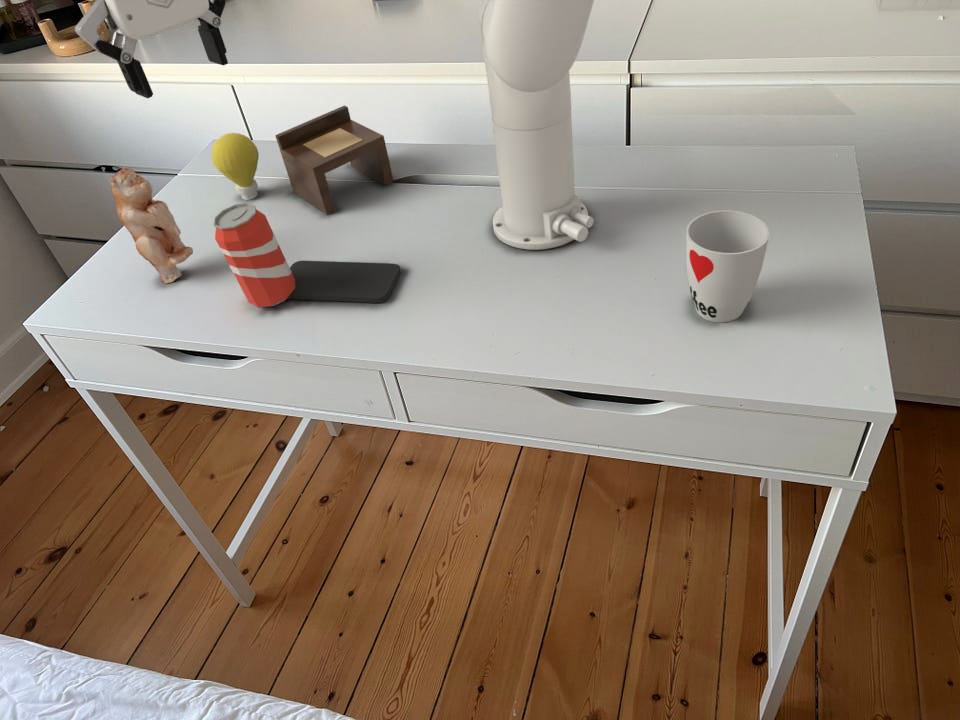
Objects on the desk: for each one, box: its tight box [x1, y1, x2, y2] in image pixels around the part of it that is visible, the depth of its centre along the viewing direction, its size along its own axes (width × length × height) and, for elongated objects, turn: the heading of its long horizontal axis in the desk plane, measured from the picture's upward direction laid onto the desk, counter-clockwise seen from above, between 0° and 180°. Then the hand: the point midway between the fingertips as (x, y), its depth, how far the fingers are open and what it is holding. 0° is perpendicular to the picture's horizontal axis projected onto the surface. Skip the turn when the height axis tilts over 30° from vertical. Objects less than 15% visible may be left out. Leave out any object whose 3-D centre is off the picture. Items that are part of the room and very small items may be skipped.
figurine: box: [108, 166, 194, 284], centre depth 100 cm, size 6×8×15 cm
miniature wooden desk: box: [275, 105, 395, 216], centre depth 114 cm, size 10×12×10 cm
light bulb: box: [211, 132, 260, 201], centre depth 115 cm, size 7×7×10 cm
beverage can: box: [213, 202, 295, 308], centre depth 94 cm, size 6×6×12 cm
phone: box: [286, 260, 402, 304], centre depth 98 cm, size 7×1×15 cm
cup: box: [685, 209, 770, 323], centre depth 82 cm, size 8×8×10 cm
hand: (182, 78), depth 87 cm, fingers open, 9 cm apart
